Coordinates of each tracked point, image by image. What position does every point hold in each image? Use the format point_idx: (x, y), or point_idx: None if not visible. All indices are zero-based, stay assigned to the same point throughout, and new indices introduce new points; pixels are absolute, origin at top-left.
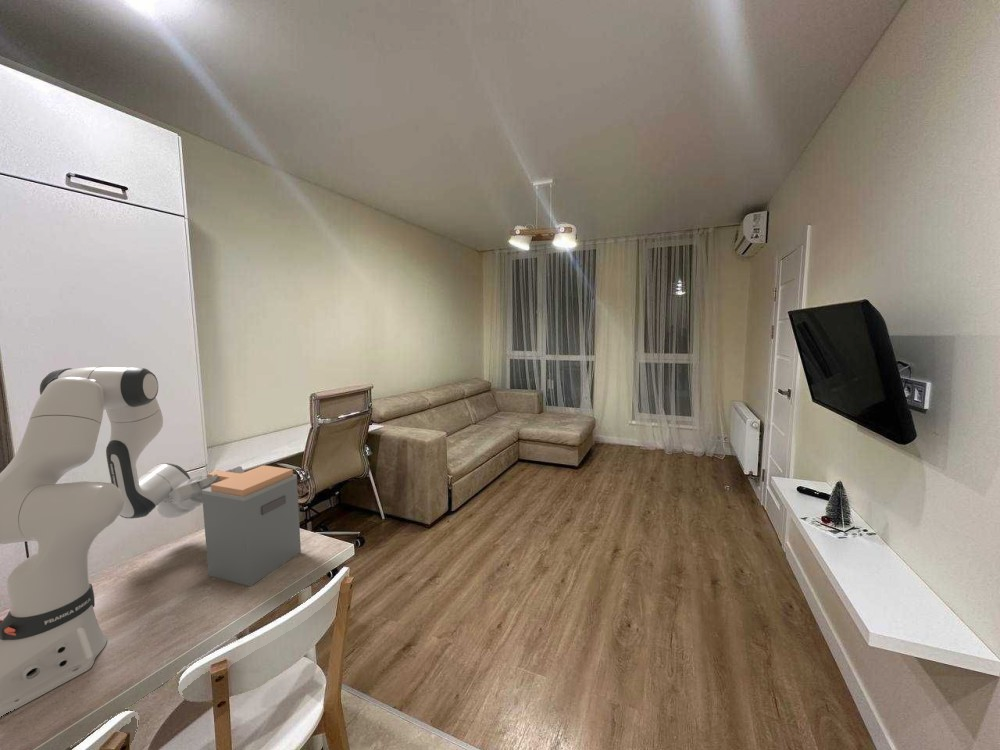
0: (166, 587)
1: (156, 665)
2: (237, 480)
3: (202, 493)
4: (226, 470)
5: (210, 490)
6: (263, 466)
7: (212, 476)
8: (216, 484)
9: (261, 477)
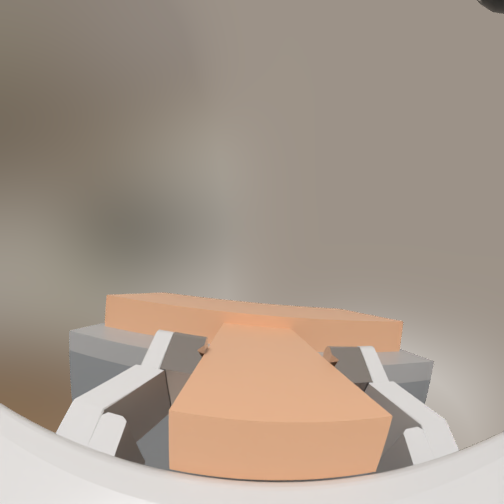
0: None
1: None
2: (311, 313)
3: (428, 378)
4: (29, 420)
5: (400, 352)
6: (127, 296)
7: (368, 350)
8: (383, 319)
9: (250, 304)
